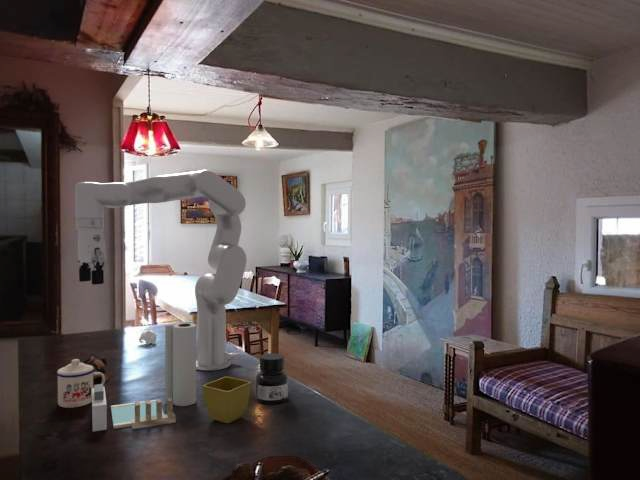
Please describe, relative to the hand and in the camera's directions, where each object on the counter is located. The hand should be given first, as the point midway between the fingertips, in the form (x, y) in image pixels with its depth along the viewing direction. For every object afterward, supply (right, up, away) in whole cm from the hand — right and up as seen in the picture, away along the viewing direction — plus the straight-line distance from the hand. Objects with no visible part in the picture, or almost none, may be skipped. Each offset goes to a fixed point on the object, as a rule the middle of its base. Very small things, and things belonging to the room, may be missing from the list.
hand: (91, 282), depth 148 cm
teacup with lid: (+2, -32, -11) cm, 34 cm away
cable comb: (+27, -32, -26) cm, 49 cm away
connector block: (+13, -32, -24) cm, 42 cm away
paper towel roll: (+30, -32, -11) cm, 45 cm away
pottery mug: (-3, -31, +8) cm, 32 cm away
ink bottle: (+54, -32, -8) cm, 63 cm away
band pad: (+21, -32, -20) cm, 43 cm away
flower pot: (+44, -32, -22) cm, 59 cm away
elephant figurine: (-2, -30, +54) cm, 62 cm away
